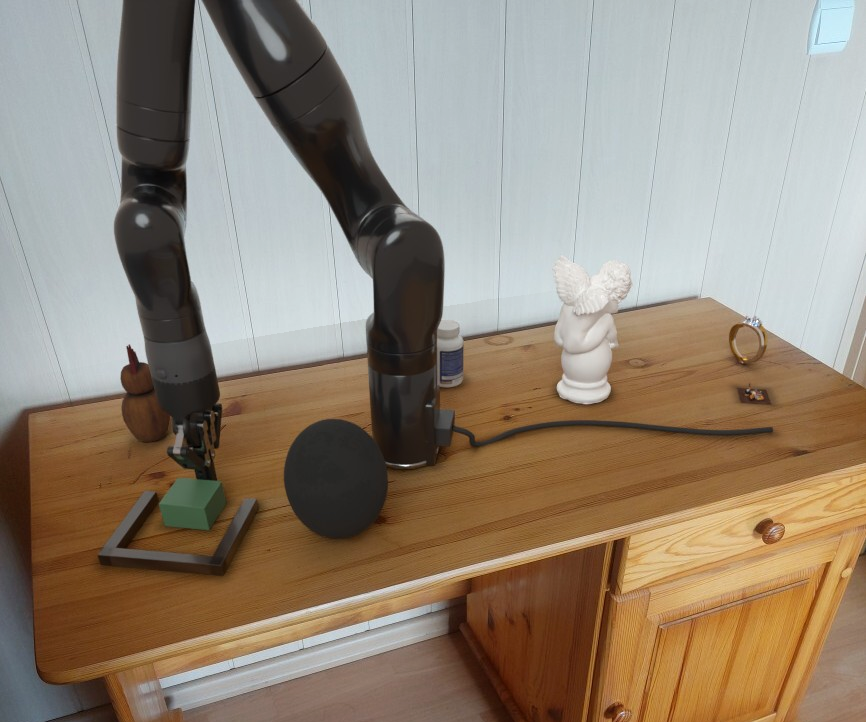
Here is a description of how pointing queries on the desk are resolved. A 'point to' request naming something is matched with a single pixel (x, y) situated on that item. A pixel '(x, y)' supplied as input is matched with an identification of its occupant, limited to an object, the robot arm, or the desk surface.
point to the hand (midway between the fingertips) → (208, 486)
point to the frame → (166, 561)
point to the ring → (762, 336)
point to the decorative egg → (335, 478)
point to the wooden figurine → (142, 402)
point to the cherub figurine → (588, 327)
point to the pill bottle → (449, 354)
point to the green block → (193, 503)
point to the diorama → (753, 395)
